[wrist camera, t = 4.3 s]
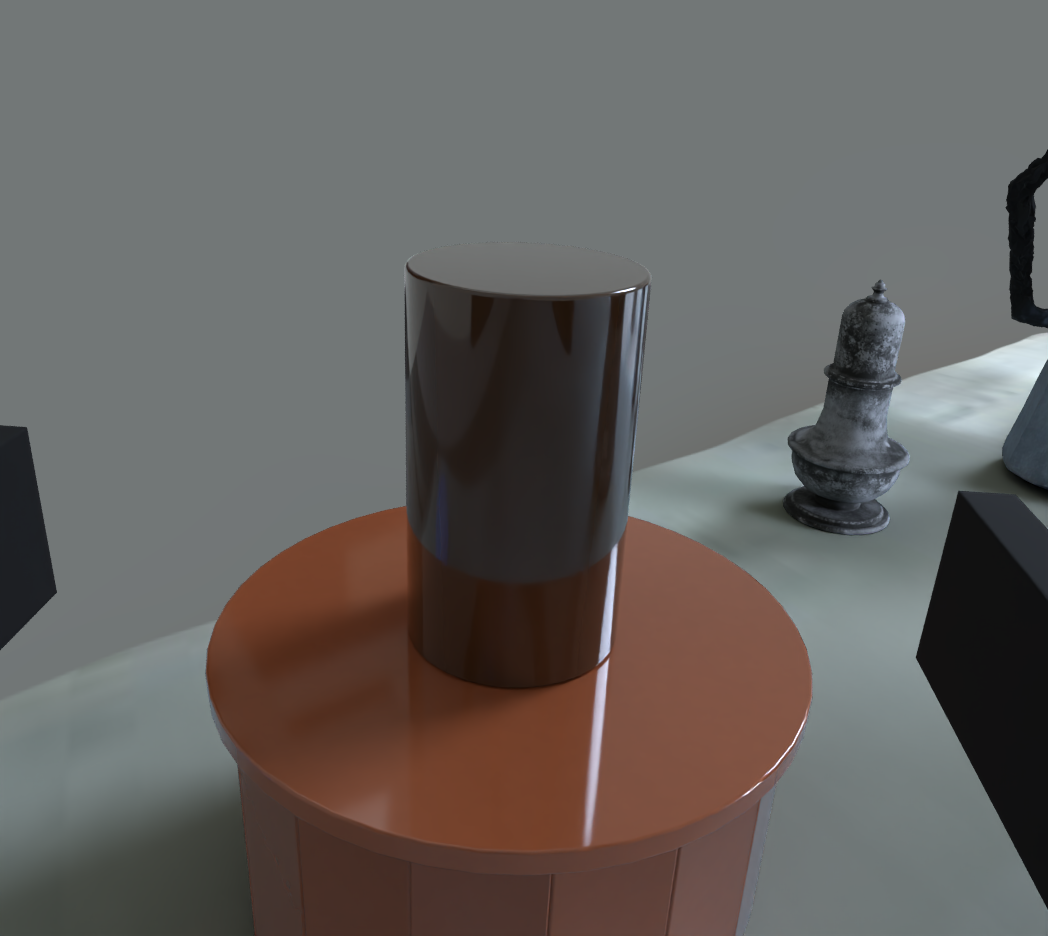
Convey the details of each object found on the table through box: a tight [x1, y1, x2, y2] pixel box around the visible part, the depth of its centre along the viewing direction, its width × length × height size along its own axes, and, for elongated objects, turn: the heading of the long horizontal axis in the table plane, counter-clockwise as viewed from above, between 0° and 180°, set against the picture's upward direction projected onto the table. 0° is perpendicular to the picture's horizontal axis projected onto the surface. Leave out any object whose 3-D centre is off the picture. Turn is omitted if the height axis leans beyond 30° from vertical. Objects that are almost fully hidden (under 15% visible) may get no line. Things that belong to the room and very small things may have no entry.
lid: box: [205, 242, 813, 876], centre depth 22 cm, size 15×15×10 cm
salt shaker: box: [783, 280, 910, 535], centre depth 47 cm, size 6×6×12 cm
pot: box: [237, 764, 777, 936], centre depth 26 cm, size 14×14×8 cm
